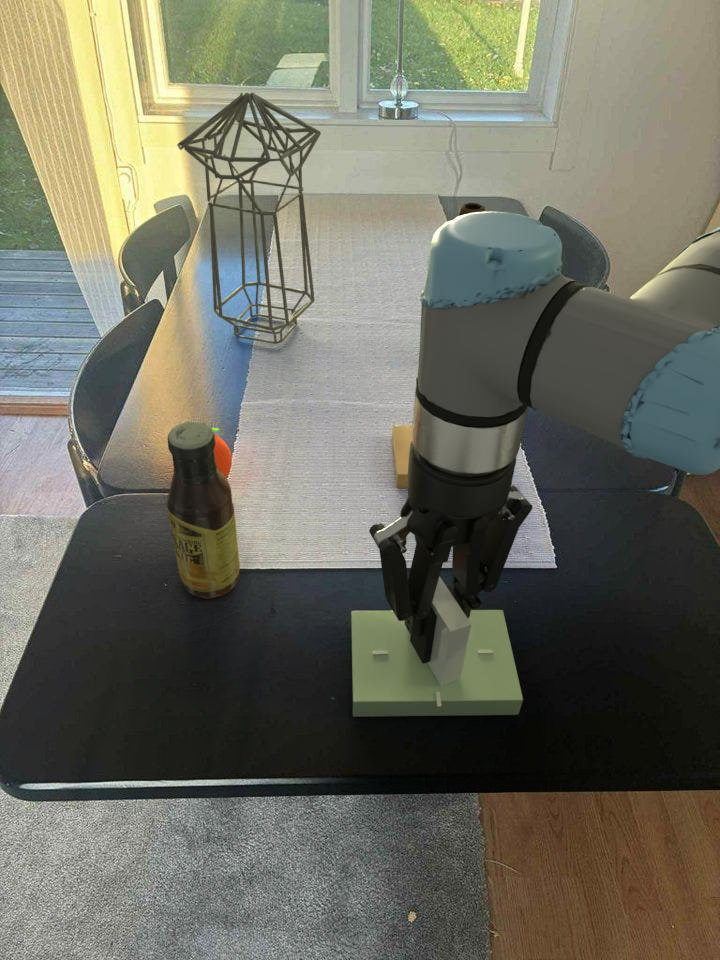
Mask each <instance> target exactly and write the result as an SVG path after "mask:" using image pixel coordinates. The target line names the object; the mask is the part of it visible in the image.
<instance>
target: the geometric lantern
mask: <svg viewBox="0 0 720 960" xmlns="http://www.w3.org/2000/svg"><path fill="white" fill-rule="evenodd" d="M243 93H244V92H240V93H239V95H238V96H237V97H236V98H235V99H233V100H232V101H231V102H230V103H229V104H227V105H226V106H225V107H223V108H222V109H220V110H219V111H218V112H217V113H215V114H214V115H213V116H212V117H210V118H209V119H208V120H206V121H205V122H204V123H202V124H201V125H199V127H197V128H196V129H195V130H193V131H192V132H191V133H190V134H189V135H187V136H185V138H183V139H181V141H179V142H178V143H177V144H176V146H177V147H178V149H179V150H180V151H182V150H183V149H184V151H185V152H187V153H188V154H189V155H190V156H192V158H194V159H195V160H196V161H197V162H199V163H200V164H201V165H202V166H204V170H205V171H204V173H205V182H206V185H205V186H206V198H207V199H206V200H207V202H208V203H207V205H208V207H209V224H210V225H209V227H210V228H209V229H210V246H211V247H210V252H211V254H210V255H211V274H212V275H211V277H212V278H211V279H212V298H213V299H212V300H213V311H214V313H215V314H216V315H217V317H218V318H220V319H222V320H224V321H226V322H227V323H229V324H230V325H231V326H233V335H234V336H235V337H237V338H239V339H244V340H250V341H256V342H262V343H266V344H272V345H278V344H280V343H282V342H284V340H285V339H287V337H288V336H289V335H290V333H291V332H292V331H293V330H294V329H295V328H296V326H297V325H298V318H299V317H300V316H301V315H302V314H303V313H305V311H307V310H308V308H309V307H310V306H312V305H313V304H314V303H315V301H316V300H315V291H314V290H315V289H314V282H313V272H312V264H311V254H310V245H309V235H308V229H307V228H308V227H307V220H306V219H307V218H306V210H305V209H306V208H305V199H304V193H303V191H304V187H303V166H304V164H305V162H306V160H307V159H308V158H309V156H310V154H311V152H312V150H313V149H314V147H315V145H316V143H317V141H318V140H319V138H320V137H321V134H322V133H321V131H320V130H319V129H317V128H316V127H314V126H312V125H310V124H309V123H307V122H306V121H303V120H301V118H299V117H296V116H295V115H293V114H291V113H289V112H287V111H286V110H285V109H282V108H281V107H280V106H277V105H275V104H274V103H272V102H270V101H269V100H266V99H265V98H263V97H261V96H259V95H258V94H256V93H255V92H252V91H251V92H245V93H244V94H243ZM248 106H249V108H250V111H251V114H252V117H253V120H254V122H252V121H249V120H246V119H245V118H246V113H247V110H248ZM256 110H257V111H258V114H259V116H260V118H261V120H262V123H263V125H262V124H260V120H259V117H258V114H257V111H256ZM271 110H272V111H273V112H275V113H276V114H279V115H280V116H283V117H284V118H285V119H288V120H290V121H292V122H293V123H295V124H298V125H299V126H301V127H298V128H297V127H296V128H291V127H287V126H284V125H283V124H282V123H281V122H280V120H279V119H278V118H277V116H275V115H274V114H273V113H272V111H271ZM235 122H237V123H238V126H237V128H236V133H235V136H234V137H235V138H234V141H233V145H232V149H231V152H230V156H227V155H226V154H223V150H224V147H225V142H226V138H227V137H228V135H229V132H230V131H231V129H232V128H233V126H234V124H235ZM273 123H274V124H275V125H274V124H273ZM210 126H212V127H211V128H210V129H209V130H208V131H207V132H205V134H204V135H203V136H202V137H199V136H200V135H201V134H202V133H203V132H204V131H205V130H207V129H208V128H209V127H210ZM251 127H252V128H256V130H257V133H256V132H255V131H254V130H253V129H252V128H251ZM243 128H244V129H245V130H246V131H247V132H248V133H249V134H251V136H252V137H254V139H256V140H257V141H258V142H259V143H260V144H261V147H262V153H261V155H260V156H257V157H255V156H253V157H252V156H249V157H248V156H236V154H237V150H238V147H239V142H240V138H241V134H242V130H243ZM215 131H216V132H215ZM263 131H267V134H268V135H269V136H268V143H267V142H266V139H265V136H264V133H263ZM279 131H280V132H282V133H283V134H284V135H285V142H284V140H283V138H282V137H281V135H280V133H279ZM294 133H295V134H296V133H305V135H303V136H302V137H300V138H299V139H298V140H296V139H295V138H294V137H293V136H292V134H294ZM273 135H274V137H275V138H276V140H277V141H278V143H279V144H280V146H281V148H278V145H277V144H276V142H275V139H274V137H273ZM219 136H220V138H219V139H218V140H217V137H219ZM197 137H198V138H197ZM207 140H208V141H210V140H213V146H214V148H213V149H208V148H206V141H207ZM217 141H218V142H217ZM289 141H290V142H291V143H292V145H290V146H289ZM198 143H201V146H202V147H198V146H194V144H198ZM302 143H303V144H302ZM272 144H273V146H272ZM301 144H302V145H301ZM288 146H289V147H288ZM306 148H307V149H306ZM305 149H306V151H305V152H304V150H305ZM269 151H272V152H275V153H277V155H278V158H271V155H270V152H269ZM303 152H304V154H303ZM297 153H299V163H298V164H297V165H296V167H295V165H294V163H293V157H292V156H293V155H295V154H297ZM200 156H201V157H200ZM202 157H203V158H204V159H203V158H202ZM286 158H288V163H289V165H288V164H287V162H286V161H285V159H286ZM214 159H216V160H219V161H224V162H227V165H228V167H229V171H230V174H221V173H220V172H219V171H217V168H216V164H215V160H214ZM209 160H210V163H211V164H209ZM235 162H237V163H239V162H241V163H255V164H254V165H252V166H250V167H248V168H247V169H245V170H242V171H241V172H240V171H238V170H237V168H236V167H235V165H234V164H233V163H235ZM270 162H280V164H281V165H282V167H283V168H284V170H285V171H286V173H287V174H288V177H287V180H286V182H285V184H283V183H276V182H270V181H264V180H257V179H254V178H255V177H256V174H257V172H258V170H259V168H261V167H263V166H265V165H267V164H268V163H270ZM234 171H235V172H234ZM210 172H211V173H212V174H213V175H214V178H215V179H219V183H218V186H217V189H216V192H215V193H213V194H211V184H210V183H211V181H210V180H211V179H210ZM235 173H236V174H235ZM250 173H251V175H250V177H249V178H248V179H245V178H244V177H245V176H247V175H249V174H250ZM294 175H295V177H296V180H297V183H298V186H296V185H290V184H289V183H290V181H291V179H292V177H293V176H294ZM224 180H234V181H232V182H230V183H229V184H228V185H226V186H224V187H223V188H221V187H222V184H223V181H224ZM236 184H237V185H238V203H239V205H238V207H236V206H231V205H225V204H219V203H216V201H217V198H218V196H219V194H222V193H223V192H225V191H226V190H228V189H229V188H231V187H233V186H234V185H236ZM245 184H248V185H250V192H249V190H248V189H247V187H246V186H245ZM255 184H261V185H267V186H275V187H280V188H283V189H282V192H281V193H280V197H279V199H278V201H277V203H276V205H275V209H274V210H265V211H263V210H262V209H261V208H260V206H259V204H258V203H257V202H256V197H255ZM287 189H293V190H298V191H297V192H298V193H297V194H296V195H295V196H293V197H292V198H291V199H289V200H288V201H286V202H285V203H283V204H282V205H281V202H282V200H283V197H284V196H285V192H286V190H287ZM243 192H244V194H245V195H246V196H247V198H248V199H249V201H250V202H251V209H247V208H244V206H243V205H244V204H243V203H244V201H243ZM297 199H298V207H299V222H300V223H299V224H300V239H301V253H302V254H301V255H302V271H303V285H304V286H303V287H304V289H303V290H302V289H298V288H293V287H288V286H286V283H285V276H284V265H283V258H282V250H281V241H280V231H279V222H278V214H277V213H279V212H280V211H281V210H283V209H284V208H285V207H287V206H288V205H290V204H291V203H293V202H294V201H296V200H297ZM214 207H216V208H220V209H221V208H222V209H227V210H232V211H239V232H240V233H239V234H240V235H239V236H240V257H241V285H240V286H238V288H237V289H235V290H234V291H233V292H232V293H230V294H229V295H228V296H227V297H226V298H224V299H223V300H222V295H221V293H222V292H221V282H220V273H219V271H220V270H219V259H218V247H217V235H216V224H215V212H214ZM244 213H249V214H252V215H251V216H252V223H253V224H252V226H253V241H254V242H253V243H254V255H255V266H256V279H257V281H252V282H246V262H245V261H246V259H245V258H246V257H245V234H244V233H245V232H244V231H245V230H244V227H245V226H244ZM257 215H259V217H260V218H259V219H260V232H261V242H262V255H263V269H264V279H265V282H262V281H261V267H260V266H261V265H260V252H259V239H258V225H257V224H258V223H257ZM265 216H272V218H273V228H274V236H275V244H276V254H277V261H278V270H279V271H278V272H279V279H280V285H277V284H272V283H270V275H269V262H268V261H269V259H268V249H267V248H268V247H267V236H266V225H265ZM308 282H309V283H308ZM308 285H309V286H308ZM253 286H255V301H254V303H253V302H252V300H251V298H250V295H249V294H248V291H247V289H246V287H253ZM259 286H263V287H265V293H266V304H262V303H258V300H259V288H260V287H259ZM308 287H309V288H308ZM271 288H272V289H276V290H281V295H282V304H283V306H277V305H272V298H271ZM242 290H243V292H244V294H245V296H246V299H247V301H248V304H249V305H248V306H247V307H246V309H244V311H243V312H242V313H241V314H240V315H239V316H238V317H233V316H229V315H225V314H223V306H224V305H225V304H227V303H228V302H229V301H230V300H231V299H232V298H234V297H235V296H236V295H237V294H238V293H240V292H241V291H242ZM287 292H292V293H295V294H296V293H297V294H300V295H301V294H302V295H301V296H300V297H299V299H298V301H297V302H296V303H295V305H294V307H293V308H291V307H290V308H289V307H288V302H287V301H288V300H287ZM305 296H307V297H308V298H309V301H307V302H305V304H304V305H302V306H301V307H300V308H298V306H299V305H300V303H301V302H302V301H303V299H304V297H305ZM253 307H255V314H253ZM259 307H263V308H267V313H268V315H267V314H263V313H259ZM272 309H276V310H283V312H284V317H280V316H275V315H273V311H272ZM296 309H297V310H296ZM248 311H249V316H248V317H247V318H246V319H242V318H243V317H244V316H245V315H246V314H247V312H248ZM289 311H290V313H291V316H290V317H289ZM255 317H262V318H267V319H268V325H264V324H261V323H257V322H253V321H250V320H252V318H255ZM273 319H275V320H281V321H285V323H282V324H279V325H276V326H274V323H273ZM238 323H240V324H241V325H240V324H238ZM292 324H293V325H292ZM245 325H247V326H245ZM291 325H292V326H291ZM290 326H291V328H289V329H288V331H286V333H285V334H284V335H283V331H284V330H285V329H286V328H287V327H290ZM255 327H256V328H255ZM242 329H244V330H249V331H255V332H261V333H265V334H270V335H273V340H268V339H263V338H258V337H257V338H256V337H251V336H246V335H240V330H242ZM277 330H278V331H277ZM277 335H279V340H277Z"/></svg>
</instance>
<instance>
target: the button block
mask: <svg viewBox="0 0 720 960" xmlns="http://www.w3.org/2000/svg"><path fill="white" fill-rule="evenodd" d="M411 433H412V425H392V428H391V444H392V454H393V464H394V465H393V466H394V473H395V474H394V475H395V477H394V478H395V485H396V488H397V489H408V487H407V474H408V463H409V451H410V444H411V441H412V438H411Z"/></svg>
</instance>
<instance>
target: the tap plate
mask: <svg viewBox="0 0 720 960" xmlns="http://www.w3.org/2000/svg"><path fill="white" fill-rule="evenodd" d="M504 613H505V612H504V610H503V609H475V610H471V613H470V617H469V618H468V620H469V621H470V623H471V629H470V634H469V639H468V644H467V649H466V654H465V658H464V663H463V668H462V673H461V678H460V679H459V680H457V681H454V682H451V683H449V684H446V685H443V686H440V684H439V682H438V680H437V679H436V677H435V675H434V674H433V672H432V670H431V668H430V667H429V665H428V663H424V664H423V663H422V662H421V660H420V658H419V656H418V655H417V653H416V651H415V649H414V647H413V646H412V644H411V642H410V633H409V631H408V630H407V628H406V626H405V624H404V623H405V620H404V621H399V620H398V619H397V617H396V615H395V614H394V612H393V610H351V611H350V651H351V652H350V653H351V657H350V659H351V701H352V702H351V704H352V705H351V706H352V709H351V710H352V717H354V718H359V717H364V718H366V717H370V718H371V717H441V716H442V717H443V716H445V717H446V716H448V717H449V716H451V717H452V716H456V717H457V716H515V715H516V716H518V715H519V714H520V711H521V708H522V705H523V702H524V698H523V693H522V689H521V685H520V680H519V675H518V671H517V665H516V662H515V658H514V653H513V649H512V645H511V644H512V643H511V640H510V635H509V632H508V628H507V622H506V618H505V617H506V616H505V614H504Z"/></svg>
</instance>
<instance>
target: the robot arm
mask: <svg viewBox="0 0 720 960" xmlns="http://www.w3.org/2000/svg"><path fill="white" fill-rule="evenodd" d="M562 253H563V243H562V240H561V238H560V236H559V234H558V233H557V232H556V231H555V230H554V229H553V228H552V227H551V226H547V225H544V224H543V223H542V222H541V221H540V220H539V219H536V218H534V217H530V216H527V215H524V214H518V213H512V212H508V211H507V212H506V211H485V212H476V213H470V214H465V215H461V216H459V215H458V216H456V217H455V218H454V219H452V220H448V221H446V222H444V223H443V225H441V226H440V227H439V228H438V229H437V230H436V231H435V233H434V234H433V236H432V239H431V242H430V245H429V252H428V259H427V265H426V270H425V271H426V272H425V278H424V286H423V290H422V291H421V292H420V299H419V300H420V302H421V308H420V309H421V313H420V333H419V335H420V336H419V337H420V338H419V351H418V365H417V366H418V367H417V377H416V379H415V382H416V383H415V391H414V400H413V401H414V402H413V413H412V423H411V424H412V425H411V426H412V433H411V438H412V441H411V444H410V451H409V463H408V474H407V487H408V488H407V497H406V500H405V502H404V504H403V505H402V507H401V509H400V513H399V514H400V517H399V518H398V519H396V520H395V521H393V522H392V523H390V524H388V525H387V526H385V525H384V523H381V522H377V523H374V524H373V525H372V526H371V527H370V528H369V531H368V532H369V534H370V536H371V538H372V539H373V541H374V543H375V544H376V546H377V548H378V549H379V550H378V551H379V557H380V565H381V566H380V567H381V573H382V580H383V581H382V582H383V589H384V597H385V599H386V601H387V603H388V605H389V607H390V608H391V611H393V612H394V614H395V615H396V617H397V619H398V620H399V621H404V620H405V623H404V624H405V626H406V628H407V630H408V631H409V633H410V642H411V644H412V646H413V647H414V649H415V651H416V653H417V655H418V656H419V658H420V660H421V662H422V663H423V664H424V663H427V662H430V660H431V653H432V647H433V640H434V633H435V627H436V620H437V615H436V614H435V612H434V610H433V609H432V607H431V605H432V602H433V598H434V594H435V591H436V587H437V583H438V580H439V576H440V577H441V572H442V568H443V565H444V563H448V561H449V558H450V554H451V550H452V557H451V559H452V560H451V561H452V562H451V583H452V584H453V585H452V584H451V583H450V584H446V587H447V588H448V590H449V591H450V593H451V594H452V596H453V597H454V599H455V600H456V602H457V603H458V605H459V606H460V608H461V609H462V611H463V612H464V614H465V615H466V617H467V618H469V617H470V613H471V610H478V609H479V608H480V607H481V606H482V604H483V601H482V600H481V598H479V595H478V594H479V593H481V592H482V591H483V592H485V593H490V592H493V591H494V590H495V589H496V588H497V586H498V583H499V581H500V578H501V575H502V573H503V571H504V568H505V565H506V563H507V561H508V557H509V555H510V553H511V549H512V548H513V545H514V542H515V539H516V537H517V534H518V532H519V530H520V527H521V526H522V524H523V523H524V521H525V520H526V519H527V518H528V516H529V514H531V512H532V510H533V505H532V503H530V501H529V500H528V499H527V498H526V497H525V496H524V495H523V493H522V492H521V491H520V490H519V489H518V488H517V487H516V485H512V484H513V483H512V482H513V478H514V473H515V469H516V464H517V457H518V454H519V451H520V447H521V444H522V439H523V434H524V430H525V429H524V428H525V424H526V419H527V414H528V409H529V408H530V409H532V410H535V411H540V412H541V413H544V414H546V415H548V416H551V417H553V418H555V419H557V420H560V421H562V422H564V423H566V424H568V425H570V426H573V427H574V428H577V429H579V430H581V431H584V432H586V433H588V434H590V435H592V436H594V437H597V438H599V439H601V440H603V441H606V442H607V443H610V444H612V445H614V446H616V447H619V448H620V449H623V450H625V451H626V452H627V453H629V454H630V455H632V456H633V457H636V458H641V459H643V460H646V459H650V460H652V461H655V462H658V463H660V464H664V465H666V466H669V467H672V468H675V469H677V470H680V471H683V472H685V473H688V474H691V475H694V476H706V475H710V474H712V473H715V472H716V471H718V470H719V469H720V226H719V227H716V228H714V229H713V230H711V231H710V232H707V233H704V234H702V235H700V236H699V237H697V238H695V239H694V240H693V241H692V242H691V243H690V244H688V245H686V246H684V247H683V249H682V250H681V251H680V252H679V253H678V254H677V256H675V257H674V259H672V261H671V262H669V263H668V265H666V266H665V267H664V268H663V269H662V270H661V271H659V272H658V273H657V274H656V275H655V276H653V278H651V279H650V280H649V281H648V282H646V284H645V285H643V286H642V287H641V288H639V289H638V290H637V291H636V292H635V293H634V294H632V295H631V296H630V297H626V296H623V295H620V294H616V293H614V292H611V291H607V290H604V289H600V288H597V287H594V286H590V285H588V284H585V283H583V282H580V281H578V280H576V279H573V278H570V277H566V276H564V275H563V274H561V272H562V266H563V262H562ZM410 533H411V534H412V535H413V536H414V540H415V548H414V552H413V556H412V560H411V565H410V570H409V573H408V568H407V567H408V566H407V560H406V558H405V555H404V554H406V553H407V551H408V548H407V547H406V545H407V537H408V536H409V534H410Z"/></svg>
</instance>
